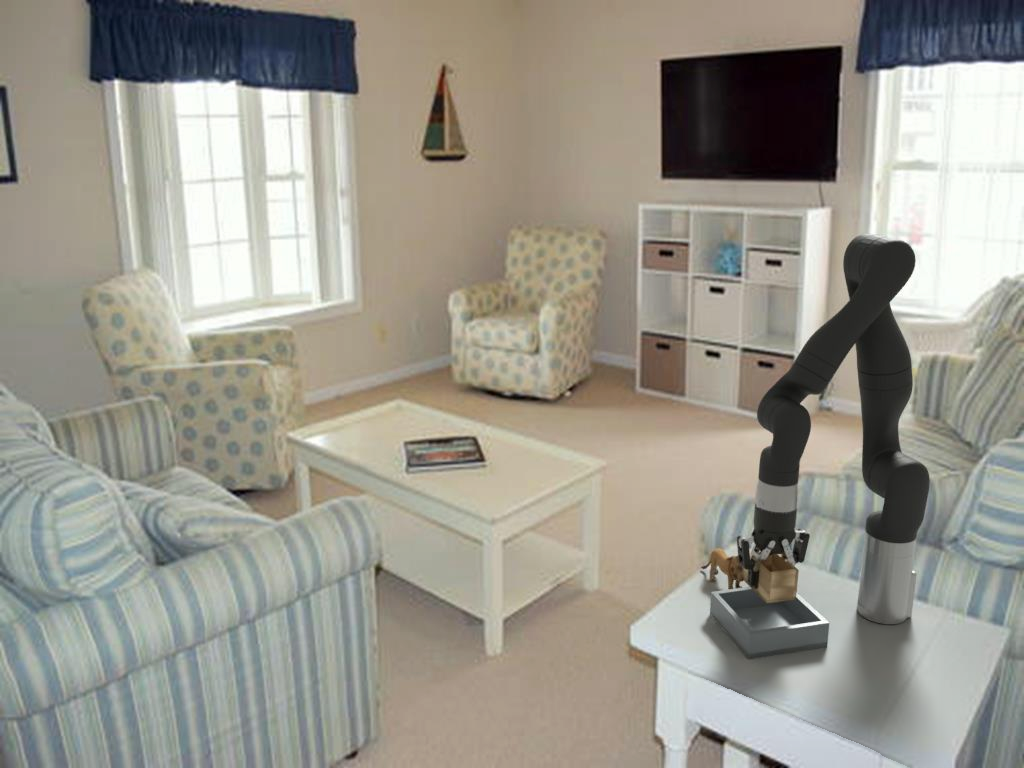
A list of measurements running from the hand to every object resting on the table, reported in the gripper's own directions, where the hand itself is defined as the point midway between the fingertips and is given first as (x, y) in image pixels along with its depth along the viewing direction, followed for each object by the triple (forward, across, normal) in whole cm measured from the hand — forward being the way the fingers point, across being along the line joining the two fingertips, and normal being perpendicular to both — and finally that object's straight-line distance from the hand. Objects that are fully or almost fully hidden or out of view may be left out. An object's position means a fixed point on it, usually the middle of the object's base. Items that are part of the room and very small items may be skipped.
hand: (769, 584), depth 173 cm
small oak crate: (+1, 0, 0) cm, 1 cm away
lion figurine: (+10, -1, -18) cm, 21 cm away
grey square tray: (+10, 0, 0) cm, 10 cm away
